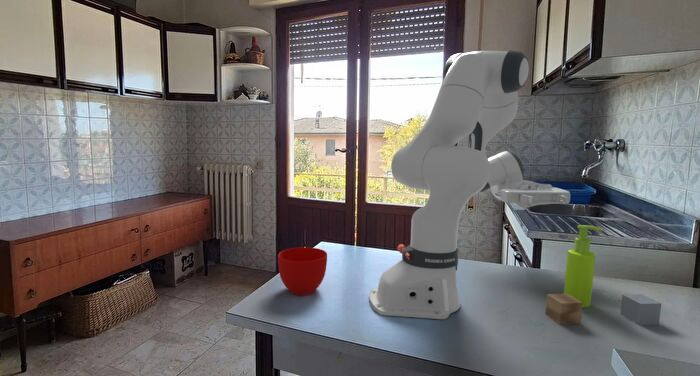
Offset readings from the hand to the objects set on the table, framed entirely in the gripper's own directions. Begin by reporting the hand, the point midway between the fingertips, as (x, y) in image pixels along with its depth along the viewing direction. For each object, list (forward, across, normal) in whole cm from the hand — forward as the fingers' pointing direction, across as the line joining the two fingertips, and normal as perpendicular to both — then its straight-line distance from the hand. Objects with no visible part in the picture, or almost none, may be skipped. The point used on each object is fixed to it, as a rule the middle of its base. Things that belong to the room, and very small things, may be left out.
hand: (549, 200), depth 104 cm
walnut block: (+23, -10, +24) cm, 35 cm away
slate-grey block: (+24, +8, +24) cm, 35 cm away
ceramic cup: (+3, -70, +24) cm, 74 cm away
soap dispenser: (+15, 0, +24) cm, 29 cm away
